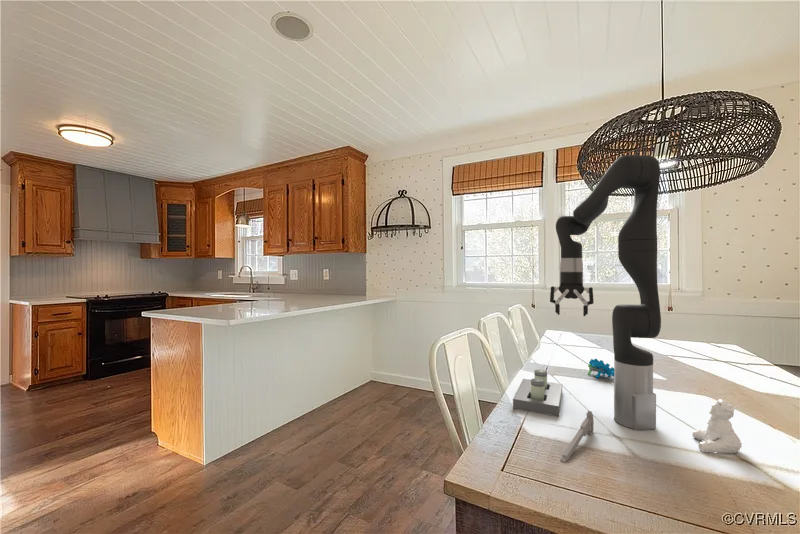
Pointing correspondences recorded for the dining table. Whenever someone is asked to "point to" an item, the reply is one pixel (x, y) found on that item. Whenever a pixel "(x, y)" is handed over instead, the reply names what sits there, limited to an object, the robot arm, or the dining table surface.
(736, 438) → the white creature statuette
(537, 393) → the pale green canister
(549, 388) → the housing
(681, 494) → the dining table surface
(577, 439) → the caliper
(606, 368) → the blue spiky dinosaur toy
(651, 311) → the robot arm
